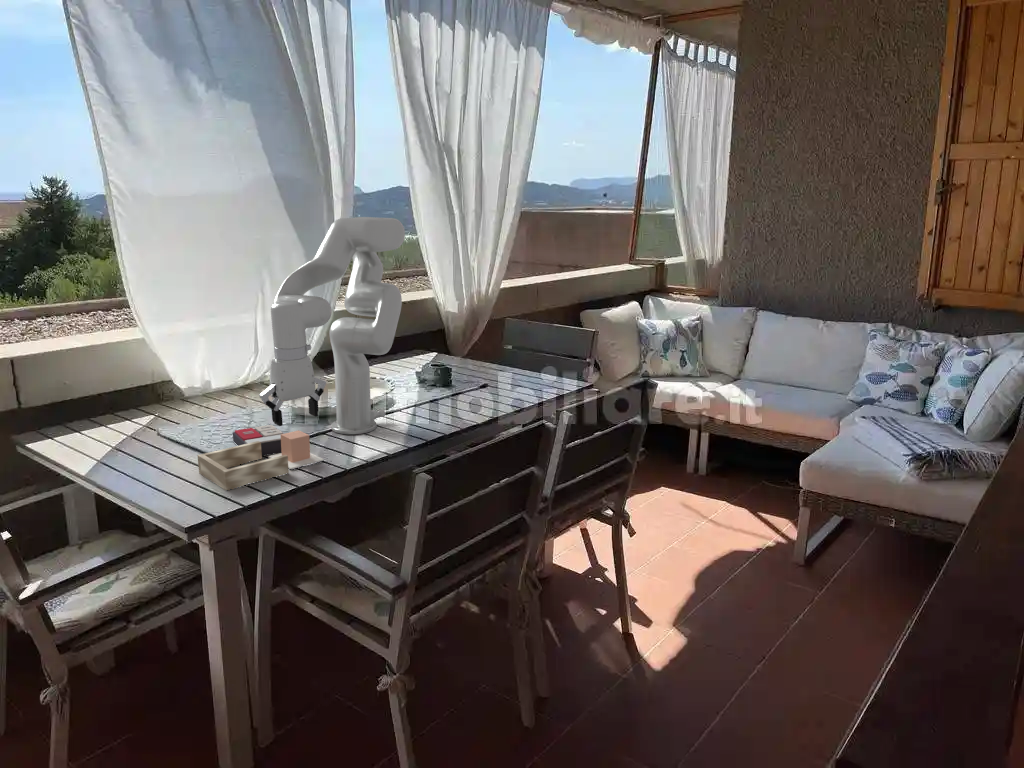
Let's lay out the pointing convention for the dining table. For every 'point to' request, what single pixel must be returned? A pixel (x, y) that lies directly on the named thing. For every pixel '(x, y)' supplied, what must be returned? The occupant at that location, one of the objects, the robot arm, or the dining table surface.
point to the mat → (293, 465)
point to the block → (295, 446)
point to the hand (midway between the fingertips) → (296, 419)
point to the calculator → (260, 438)
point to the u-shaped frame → (219, 461)
